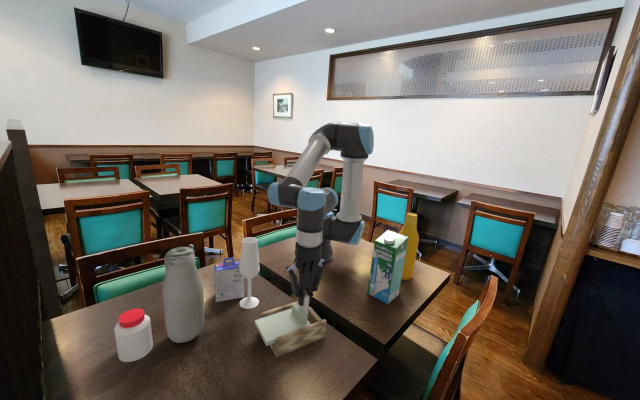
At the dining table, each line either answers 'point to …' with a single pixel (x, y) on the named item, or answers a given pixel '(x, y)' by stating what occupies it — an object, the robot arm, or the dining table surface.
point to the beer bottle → (410, 244)
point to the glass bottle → (182, 296)
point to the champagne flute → (249, 268)
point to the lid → (281, 323)
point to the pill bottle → (133, 335)
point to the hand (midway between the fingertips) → (303, 312)
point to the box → (297, 332)
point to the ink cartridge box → (228, 281)
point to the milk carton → (387, 266)
